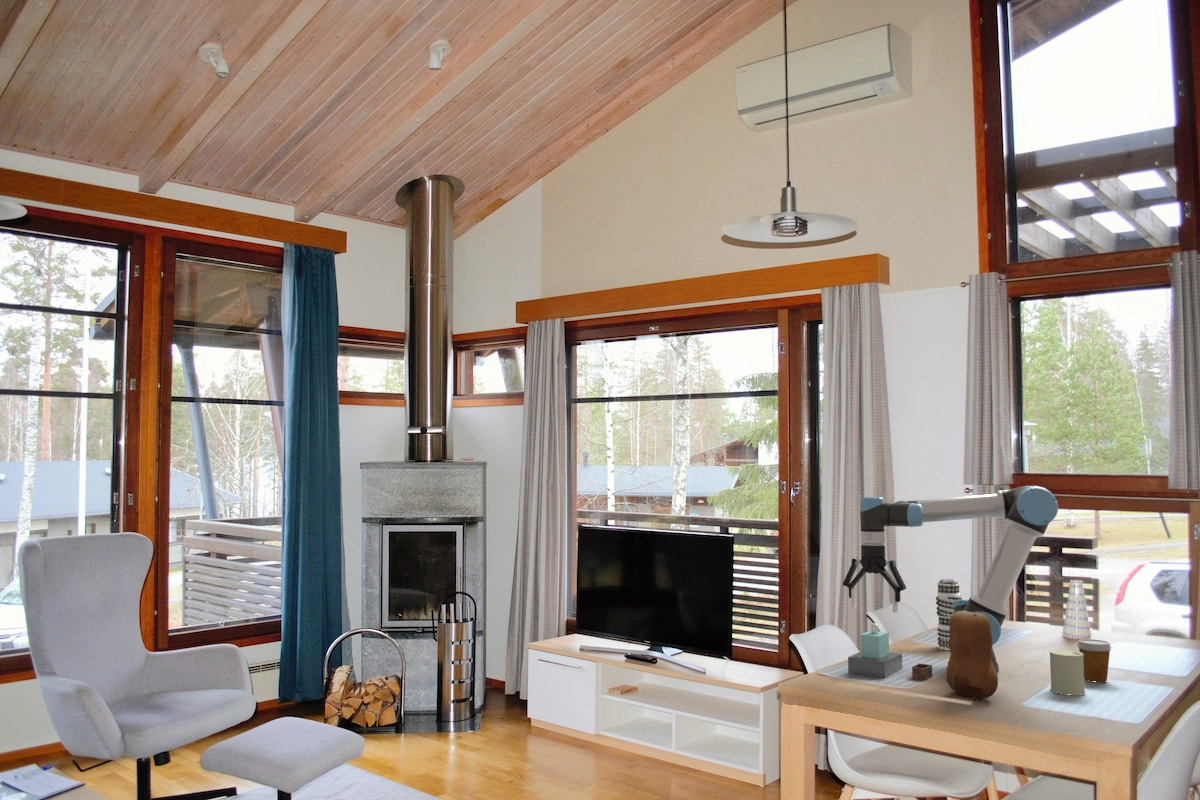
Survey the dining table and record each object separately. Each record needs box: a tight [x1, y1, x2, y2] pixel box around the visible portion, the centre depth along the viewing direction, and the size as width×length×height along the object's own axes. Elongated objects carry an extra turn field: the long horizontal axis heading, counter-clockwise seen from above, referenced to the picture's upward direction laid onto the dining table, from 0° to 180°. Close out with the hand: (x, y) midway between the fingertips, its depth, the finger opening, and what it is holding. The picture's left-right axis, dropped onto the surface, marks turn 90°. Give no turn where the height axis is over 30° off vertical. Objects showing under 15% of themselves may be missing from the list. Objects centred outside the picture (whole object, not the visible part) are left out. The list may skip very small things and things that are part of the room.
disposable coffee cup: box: [1077, 638, 1112, 683], centre depth 289 cm, size 10×10×12 cm
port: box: [847, 651, 903, 679], centre depth 297 cm, size 12×16×6 cm
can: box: [1049, 649, 1086, 696], centre depth 275 cm, size 9×9×12 cm
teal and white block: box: [860, 622, 890, 659], centre depth 298 cm, size 6×9×14 cm, turn 143°
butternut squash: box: [945, 611, 999, 701], centre depth 267 cm, size 14×13×25 cm
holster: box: [905, 663, 939, 683], centre depth 288 cm, size 8×8×4 cm
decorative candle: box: [935, 578, 963, 651], centre depth 338 cm, size 9×9×25 cm
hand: (874, 610), depth 299 cm, fingers open, 13 cm apart
